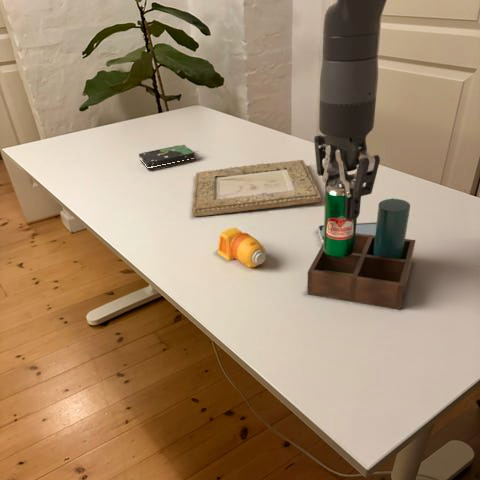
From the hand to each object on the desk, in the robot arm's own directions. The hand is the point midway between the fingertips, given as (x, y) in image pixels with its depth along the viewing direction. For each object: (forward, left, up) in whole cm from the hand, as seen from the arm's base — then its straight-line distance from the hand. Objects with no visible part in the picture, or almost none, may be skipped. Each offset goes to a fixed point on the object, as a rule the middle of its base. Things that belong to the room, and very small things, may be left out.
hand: (341, 211), depth 73 cm
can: (-7, -7, -13) cm, 17 cm away
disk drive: (+64, -52, -14) cm, 84 cm away
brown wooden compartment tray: (-4, -4, -14) cm, 15 cm away
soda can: (0, 0, -8) cm, 8 cm away
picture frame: (+30, -37, -14) cm, 50 cm away
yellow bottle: (+19, -4, -14) cm, 24 cm away
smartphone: (0, -19, -14) cm, 24 cm away
